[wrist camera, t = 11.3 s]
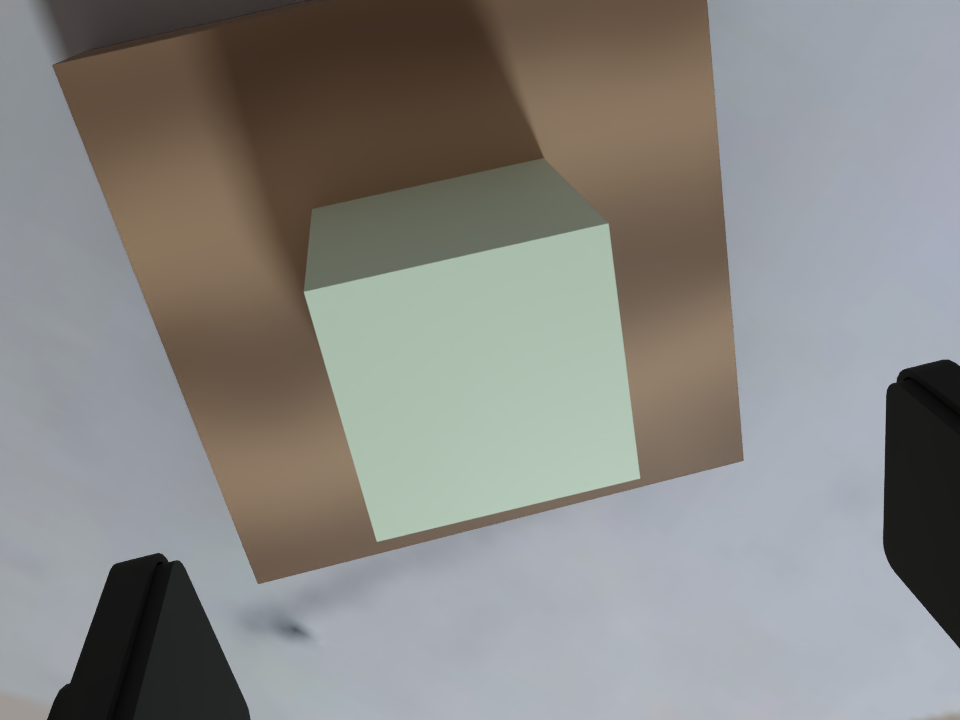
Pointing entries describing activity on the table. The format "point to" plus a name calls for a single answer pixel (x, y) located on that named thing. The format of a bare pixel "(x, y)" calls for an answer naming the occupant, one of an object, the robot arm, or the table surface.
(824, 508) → the table surface
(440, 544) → the table surface
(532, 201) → the sage cube
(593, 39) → the walnut base
